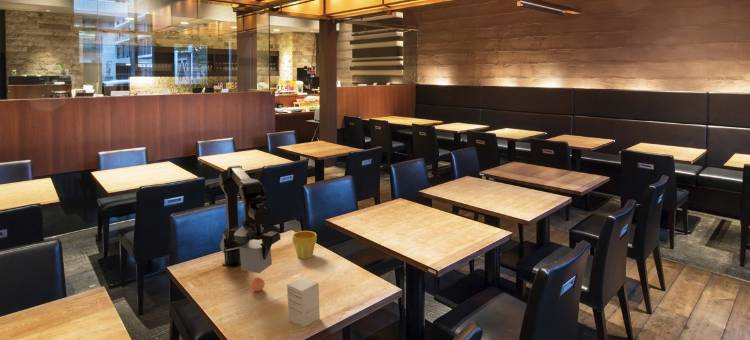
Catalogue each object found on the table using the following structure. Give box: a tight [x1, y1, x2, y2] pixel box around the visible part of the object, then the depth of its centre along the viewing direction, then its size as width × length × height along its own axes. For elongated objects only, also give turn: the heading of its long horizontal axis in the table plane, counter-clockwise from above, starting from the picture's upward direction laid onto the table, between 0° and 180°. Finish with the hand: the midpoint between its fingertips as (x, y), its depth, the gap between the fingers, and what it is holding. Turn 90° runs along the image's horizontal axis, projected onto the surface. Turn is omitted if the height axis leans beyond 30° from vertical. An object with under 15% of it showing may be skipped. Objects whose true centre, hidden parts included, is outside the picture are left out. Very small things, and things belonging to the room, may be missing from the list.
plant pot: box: [292, 230, 318, 260], centre depth 200 cm, size 10×10×10 cm
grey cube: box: [239, 238, 273, 274], centre depth 166 cm, size 8×8×9 cm
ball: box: [250, 277, 266, 292], centre depth 168 cm, size 5×5×5 cm
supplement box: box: [286, 276, 321, 328], centre depth 148 cm, size 7×7×13 cm
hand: (255, 257), depth 166 cm, fingers closed on grey cube, 8 cm apart
